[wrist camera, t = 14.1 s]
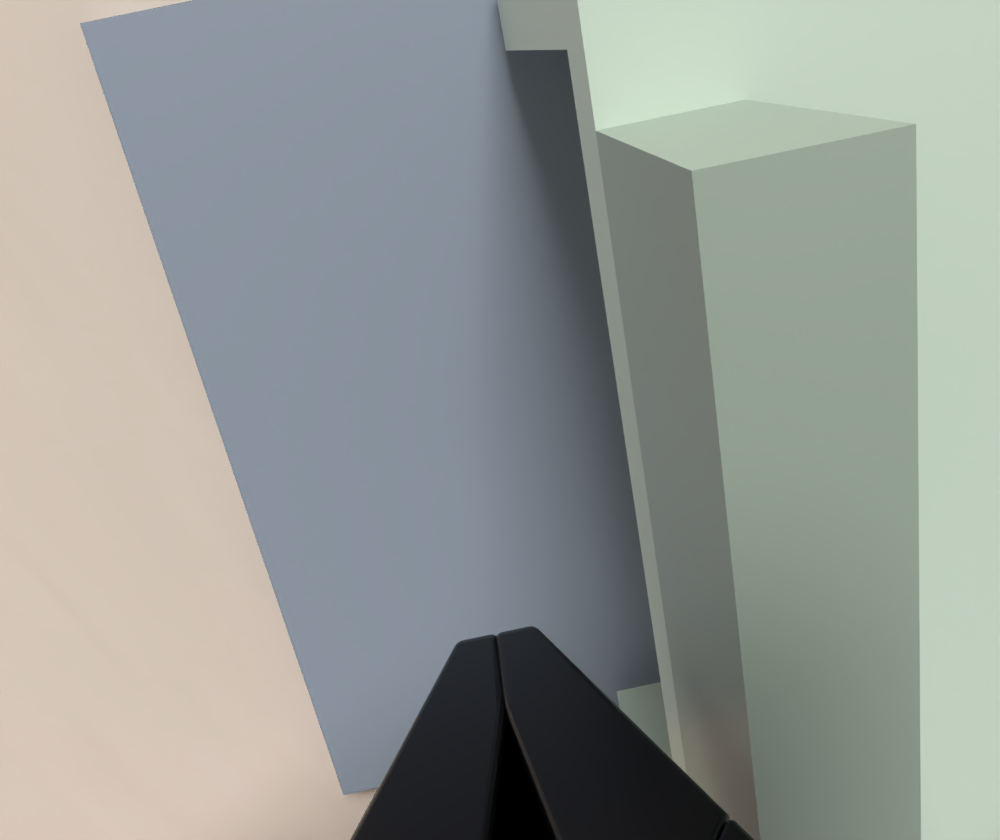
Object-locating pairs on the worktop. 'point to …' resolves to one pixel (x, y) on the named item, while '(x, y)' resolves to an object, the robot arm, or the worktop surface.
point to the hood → (806, 391)
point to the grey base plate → (392, 334)
